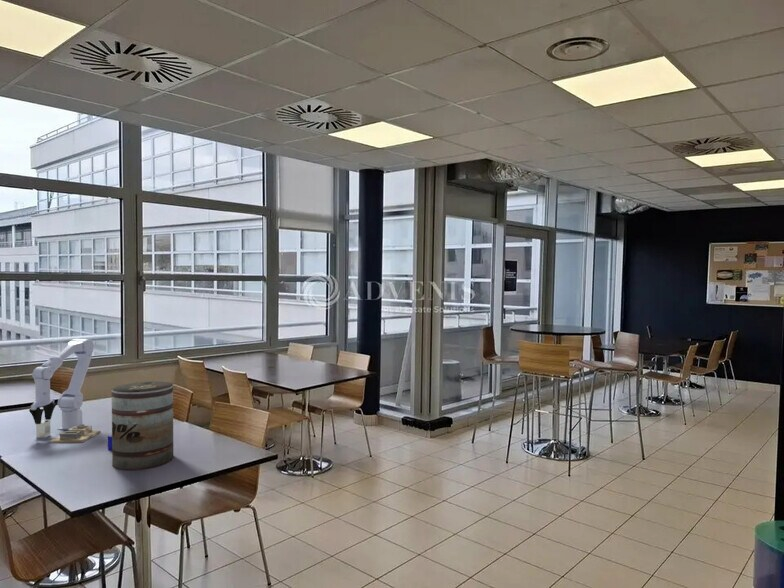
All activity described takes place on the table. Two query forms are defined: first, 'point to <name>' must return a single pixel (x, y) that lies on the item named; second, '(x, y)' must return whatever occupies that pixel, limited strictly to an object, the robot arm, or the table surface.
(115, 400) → the barrel
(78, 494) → the table surface
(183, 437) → the table surface
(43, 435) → the brushed aluminum block
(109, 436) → the cable clip
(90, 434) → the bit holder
